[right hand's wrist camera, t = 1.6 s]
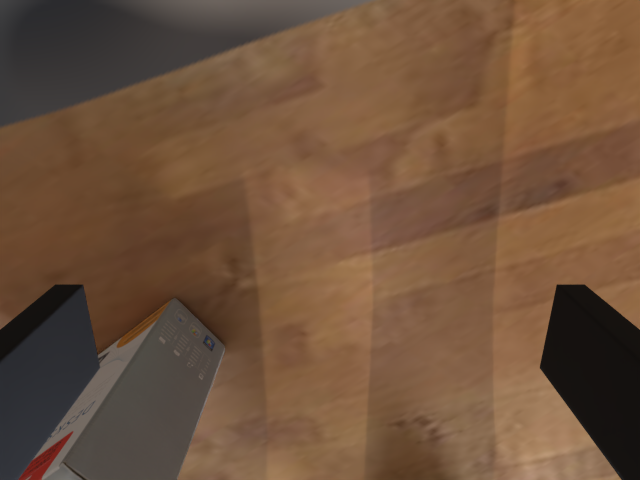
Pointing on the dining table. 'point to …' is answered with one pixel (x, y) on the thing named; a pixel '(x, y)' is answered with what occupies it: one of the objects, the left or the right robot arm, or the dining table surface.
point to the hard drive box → (137, 404)
